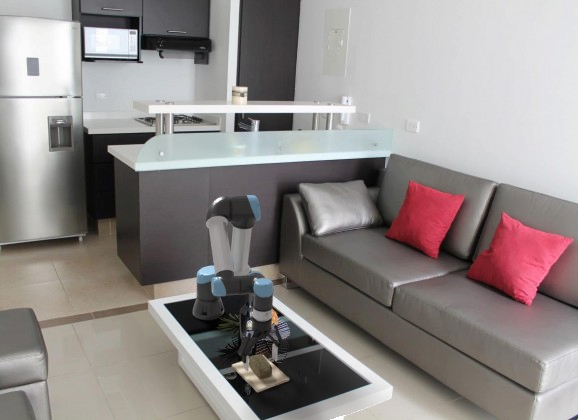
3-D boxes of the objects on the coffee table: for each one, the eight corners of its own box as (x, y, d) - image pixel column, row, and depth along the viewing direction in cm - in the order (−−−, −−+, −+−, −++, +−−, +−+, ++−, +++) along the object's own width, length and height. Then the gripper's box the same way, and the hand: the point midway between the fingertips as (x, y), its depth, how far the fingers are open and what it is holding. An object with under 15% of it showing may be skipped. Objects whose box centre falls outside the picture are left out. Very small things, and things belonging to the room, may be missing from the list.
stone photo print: (231, 366, 226) (231, 364, 226) (262, 356, 234) (262, 354, 234) (257, 392, 210) (257, 390, 210) (289, 380, 219) (289, 378, 218)
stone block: (259, 380, 216) (260, 369, 214) (247, 365, 225) (248, 355, 224) (272, 377, 219) (273, 366, 217) (260, 362, 228) (260, 352, 227)
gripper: (239, 329, 205) (237, 378, 211) (293, 313, 219) (290, 360, 225) (229, 320, 211) (228, 368, 217) (283, 306, 225) (280, 351, 231)
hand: (260, 364), depth 221 cm, fingers open, 13 cm apart
